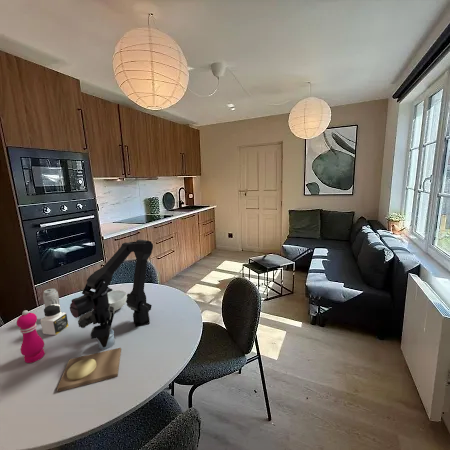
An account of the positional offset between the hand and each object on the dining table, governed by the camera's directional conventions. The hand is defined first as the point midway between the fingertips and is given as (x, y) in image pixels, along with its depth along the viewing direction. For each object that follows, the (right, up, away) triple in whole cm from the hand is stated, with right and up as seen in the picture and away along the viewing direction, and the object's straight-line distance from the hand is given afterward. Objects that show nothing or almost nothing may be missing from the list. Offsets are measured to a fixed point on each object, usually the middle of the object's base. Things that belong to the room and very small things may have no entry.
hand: (106, 339), depth 102 cm
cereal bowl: (-11, +3, +29) cm, 31 cm away
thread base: (+1, -5, -13) cm, 14 cm away
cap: (0, -2, 0) cm, 2 cm away
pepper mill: (-25, -5, -5) cm, 26 cm away
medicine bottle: (-29, -1, +12) cm, 31 cm away
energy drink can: (-36, 0, +22) cm, 43 cm away
